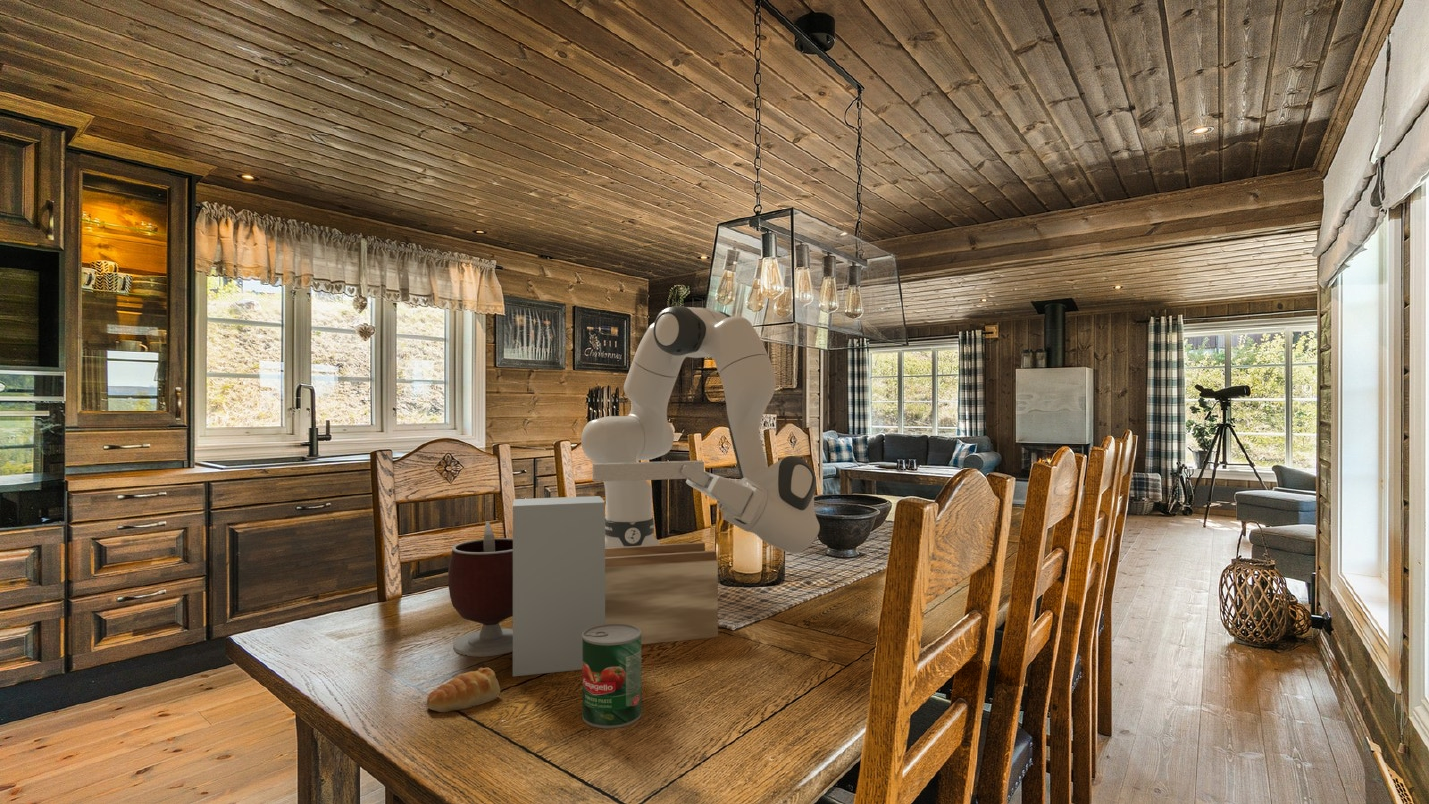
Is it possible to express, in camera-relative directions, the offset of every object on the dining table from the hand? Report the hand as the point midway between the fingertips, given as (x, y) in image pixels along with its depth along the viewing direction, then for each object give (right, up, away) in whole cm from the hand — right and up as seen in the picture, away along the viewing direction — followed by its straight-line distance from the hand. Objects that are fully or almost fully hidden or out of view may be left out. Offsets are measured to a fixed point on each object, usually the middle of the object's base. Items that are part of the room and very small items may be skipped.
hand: (679, 467), depth 125 cm
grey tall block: (-19, -30, -16) cm, 39 cm away
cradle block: (-6, -30, -2) cm, 31 cm away
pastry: (-28, -30, -30) cm, 51 cm away
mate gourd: (-33, -30, -6) cm, 45 cm away
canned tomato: (-7, -30, -34) cm, 46 cm away
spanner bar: (-6, -2, -2) cm, 6 cm away
